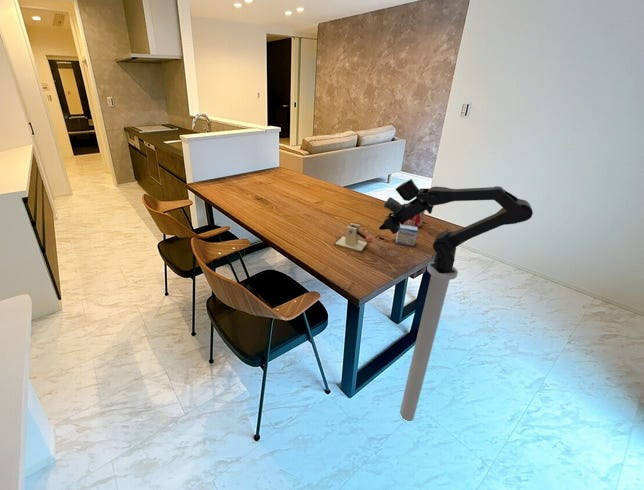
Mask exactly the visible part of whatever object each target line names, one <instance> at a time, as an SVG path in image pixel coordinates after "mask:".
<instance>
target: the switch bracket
mask: <svg viewBox="0 0 644 490" xmlns="http://www.w3.org/2000/svg"><path fill="white" fill-rule="evenodd" d="M352 225H353V226H355V227H356V228H354V227H351V226H352ZM357 228H358V229H357ZM360 229H361V224H357V223H353V222H350V223H349V225H347V226H346V229H345V236H343V235H342V236H341V238H340V239H338V240H337V241H336V242H335V245H337V246H341V247H344V248H347V249H352V250H355V251H359V252H362V251H363V250H364V249H365V247H366V246H367V245H368V243H366V242H365V241H363V240H360V239H359V237H360V236H359V235H358V234H356V233H357V231H359V232H360Z"/></svg>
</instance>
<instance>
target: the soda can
mask: <svg viewBox="0 0 644 490" xmlns="http://www.w3.org/2000/svg"><path fill="white" fill-rule="evenodd" d="M425 212H426V210H425V211H423V212H422V213H420V214H418V215H416V216H415V217H414V218H413V219H412V220H411V219H410V220H408V221H406V225H408V226H415V227H418V228H420V227H422V224H423V221H424V217H425Z"/></svg>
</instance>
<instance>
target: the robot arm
mask: <svg viewBox="0 0 644 490" xmlns="http://www.w3.org/2000/svg"><path fill="white" fill-rule="evenodd" d="M395 191H396V193H397V194H398V195H399V196H400V197H401V199H403V201H405V202H407V203H403V204H401V203H400V201H398V200H396V199H394V198H393V197H391V196H390V197H388V198H387V199H386V201H385V203H383V207H384V208H385V209H387V210H388V211H391V212H389V214H388V215H387V216H386V218H385V219H384V220H383V223H382V224H381V225H380V226H379V227H378V230H380V231H383V230H389V231H390V232H391V233H392V234H393V235H395V234H397V233H398V231H399V229H400V224H401V225H405V223H407V221H408V220H410V219H411V220H412V219H413V218H414V217H415V216H416V215H418V214H420V213H422V212H423V211H425V212H426V211H427V213H428V214H429V215H431V214H432V213H433V209H434V207H435V206H439V205H445V204H448V203H452V202H470V201H471V202H472V201H495V202H496V203H497V204H498V205H499V206H501V207H502V208H500V209H499V210H498V211H497V212H495V213H494V214H491V215H488V216H487V217H485V218H482V219H480V220H478V221H476V222H474V223H471V224H469V225H467V226H465V227H462V228H459V229H457V230H455V231H454V230H453V231H450V229H449V228H446V229H445V230H443V231H441V232H438V233H437V235H436V236H435V238H434V240H433V243H432V248H433V250H434V251H435V253H436V254H435V257H434V261H433V262H434V263H431V264H430V265H431V266H432V267H433V268H434V269H435V270H436V271H437V272H439V273H455V270H453V269H452V268H453V267H454V263H455V260H456V253H457V252H456V251H457V247H458V246H459V245H460V244H461V243H463V242H466V241H468V240H470V239H472V238H475V237H477V236H480V235H482V234H485V233H487V232H489V231H492V230H495V229H497V228H499V227H501V226H508V225H516V224H519V223H523V222H527V221H529V220H530V219H532V217H533V214H534V213H533V208H532V206H531V204H530V203H529V202H528V200H525V199H521V198H518V197H517V196H515V195H514V194H513V193H510V192H508V191H507V190H505V189H504V188H503V187H502V186H499V185H498V186H497V185H496V186H490V187H489V186H487V187H471V188H469V187H468V188H450V187H446V186H432V187H430V188H423V187H422V188H419V187H418V186H417V185H416V184H415V182H414V180H413V179H412V178H410V179H408V180H406V181H405V182H402V183H401V184H400V185H398V186H397V187H396V188H395Z"/></svg>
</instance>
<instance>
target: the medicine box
mask: <svg viewBox="0 0 644 490" xmlns="http://www.w3.org/2000/svg"><path fill="white" fill-rule="evenodd" d="M418 231H419V227H415V226H410V225H408V224H403V225H401V223H400V229H399V231H398V232H397V233H396V238H395V243H396V244H401V245H406V246H411V247H415V246H416V242H417V241H416V240H417V236H418V233H419V232H418Z"/></svg>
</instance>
